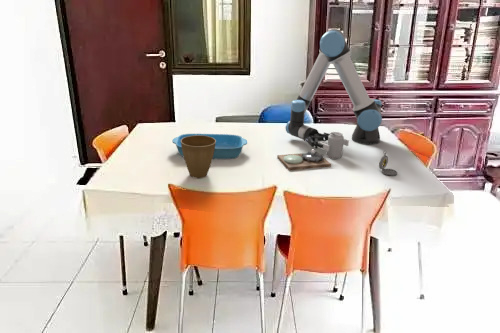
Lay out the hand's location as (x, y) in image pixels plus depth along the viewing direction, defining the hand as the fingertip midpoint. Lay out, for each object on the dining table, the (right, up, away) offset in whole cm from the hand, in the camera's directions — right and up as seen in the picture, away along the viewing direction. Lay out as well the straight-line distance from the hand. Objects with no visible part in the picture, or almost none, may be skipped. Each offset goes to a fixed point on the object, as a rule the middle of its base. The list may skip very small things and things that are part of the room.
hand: (338, 145), depth 211 cm
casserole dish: (-63, -4, +5) cm, 63 cm away
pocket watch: (+20, -13, -13) cm, 27 cm away
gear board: (-18, -8, -4) cm, 20 cm away
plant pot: (-66, -14, -21) cm, 70 cm away
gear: (-13, -6, -3) cm, 15 cm away
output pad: (-23, -7, -6) cm, 25 cm away
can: (-1, -5, +4) cm, 7 cm away
